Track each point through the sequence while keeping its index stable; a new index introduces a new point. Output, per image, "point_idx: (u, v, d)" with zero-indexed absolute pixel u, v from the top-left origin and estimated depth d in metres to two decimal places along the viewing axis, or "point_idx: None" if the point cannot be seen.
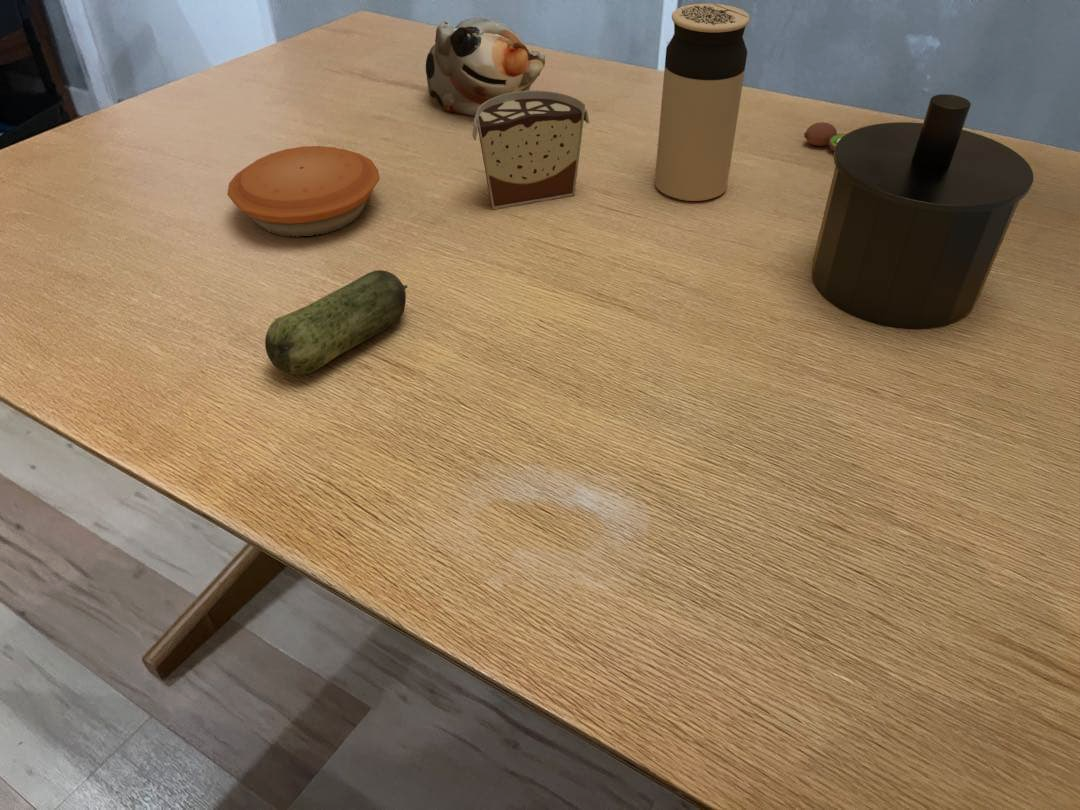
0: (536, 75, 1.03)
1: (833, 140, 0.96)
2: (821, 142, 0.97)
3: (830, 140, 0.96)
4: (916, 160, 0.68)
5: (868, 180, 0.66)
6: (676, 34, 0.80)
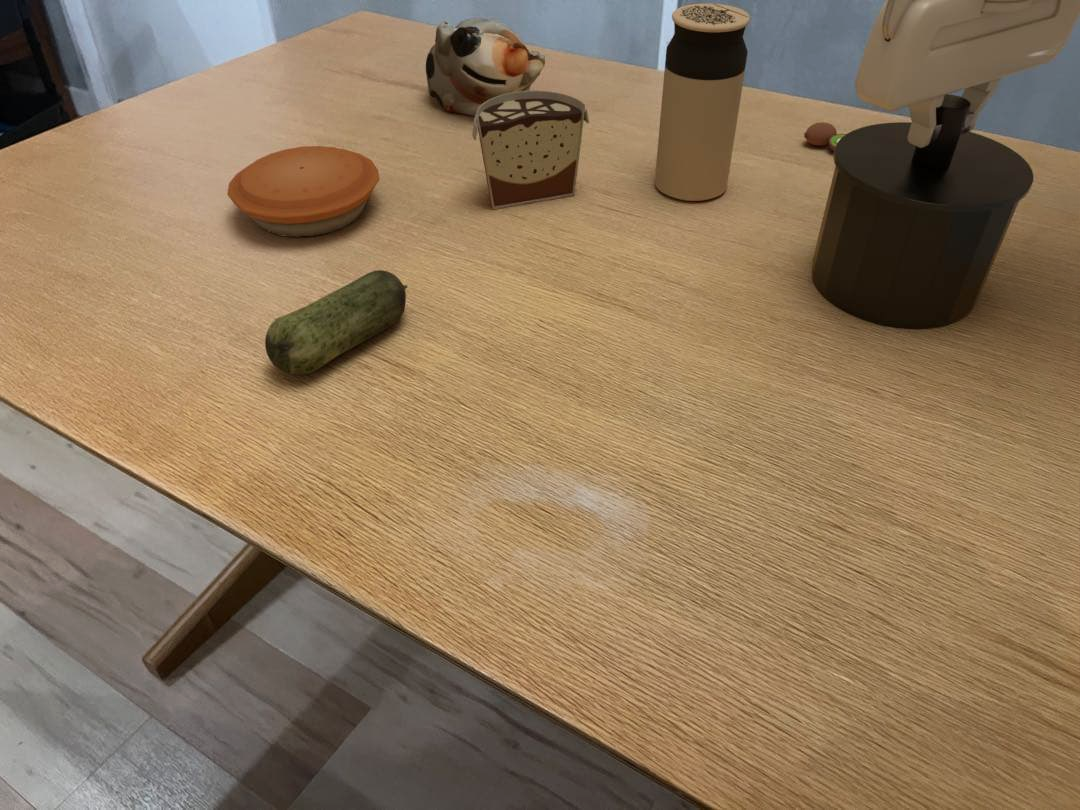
0: (536, 75, 1.03)
1: (833, 140, 0.96)
2: (821, 142, 0.97)
3: (830, 140, 0.96)
4: (916, 160, 0.68)
5: (868, 180, 0.66)
6: (676, 34, 0.80)
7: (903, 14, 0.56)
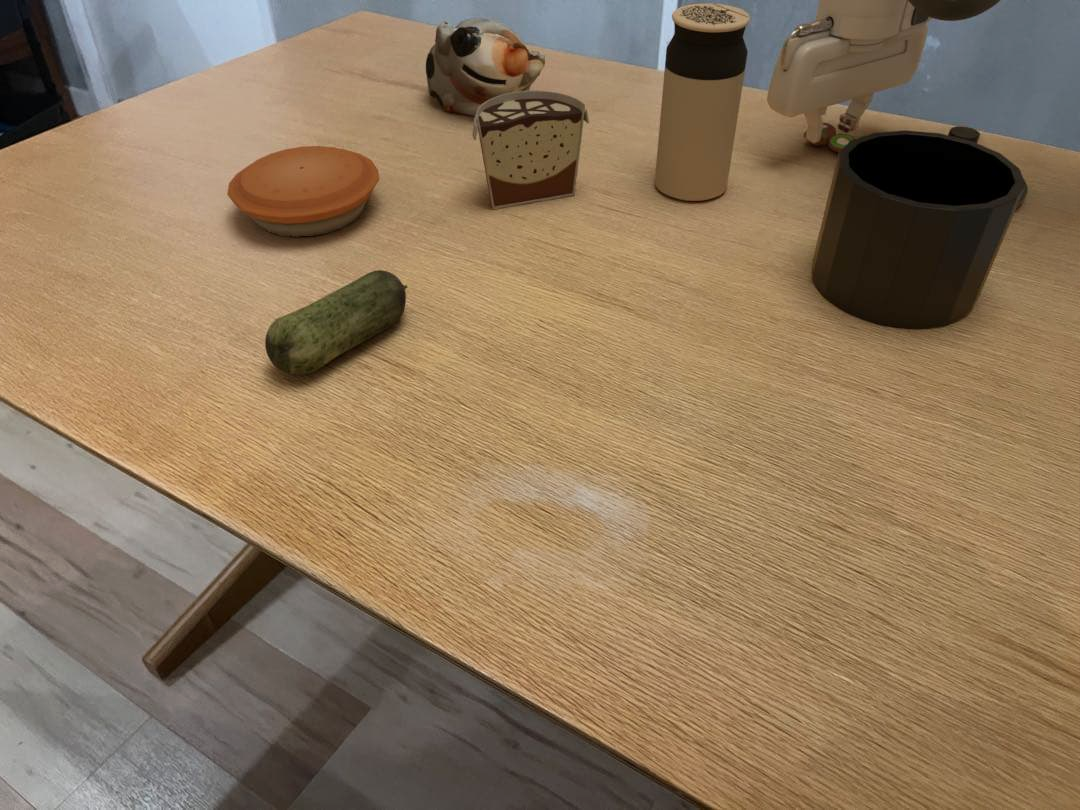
0: (536, 75, 1.03)
1: (833, 140, 0.96)
2: (821, 142, 0.97)
3: (830, 140, 0.96)
4: None
5: None
6: (676, 34, 0.80)
7: (793, 54, 0.86)
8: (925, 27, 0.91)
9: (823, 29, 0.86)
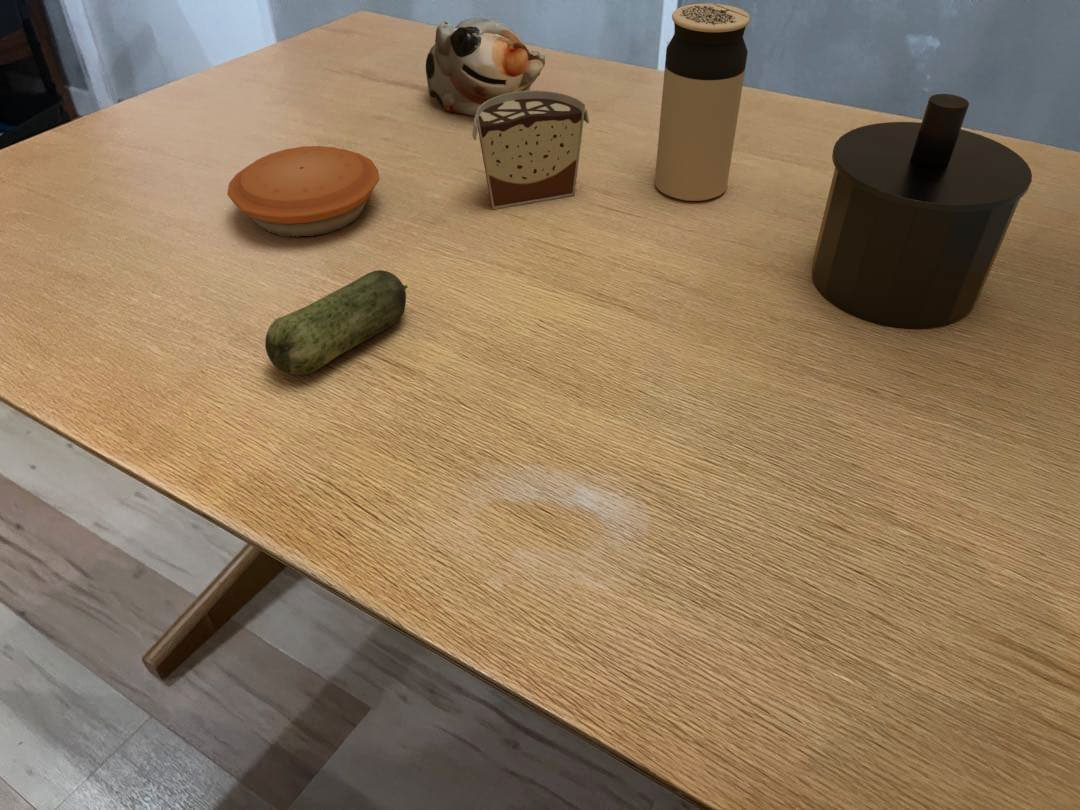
0: (536, 75, 1.03)
1: None
2: None
3: None
4: (914, 160, 0.68)
5: (866, 180, 0.66)
6: (676, 34, 0.80)
7: None
8: None
9: None
